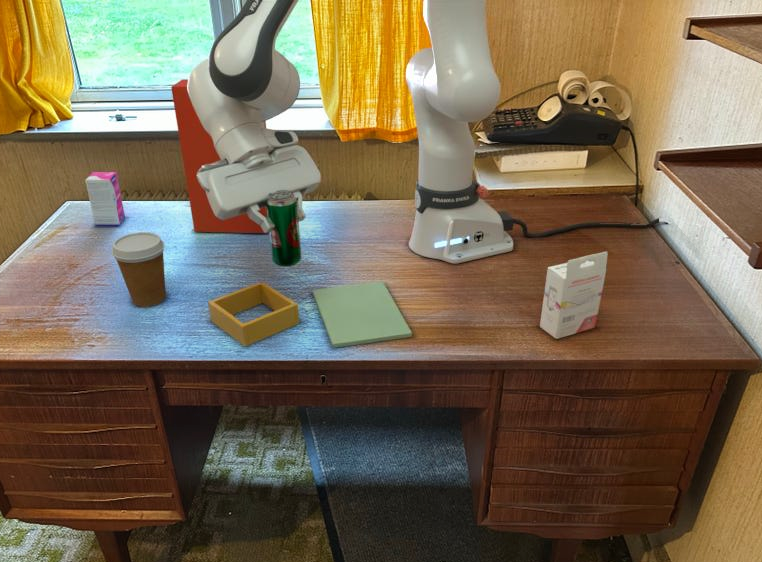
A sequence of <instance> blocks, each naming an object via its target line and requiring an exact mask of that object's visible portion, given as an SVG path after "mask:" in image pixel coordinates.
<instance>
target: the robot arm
mask: <svg viewBox="0 0 762 562" xmlns="http://www.w3.org/2000/svg"><path fill="white" fill-rule="evenodd" d="M298 2H299V0H246V1H245V2H244V4H243V5H242V8H241V9H240V11H238V13H237V15H236V16H235V17H234V19H233V20H232V21H231V22H230V23H228V25H227V26H226V27H225V28H224V29H222V31H221V32H220V33H219V34H218V36H217V37H216V38H215V40H214V41H213V43H212V45H211V47H210V50H209V54H208V58H206V59H205V60H203V61H201V62H200V63H198V64H197V65H196V66H195V67H194V68H193V69H192V71H191V72H190V73H189V76H188V78H187V79H188V93H189V97H190V100H191V102H192V105H193V107H194V109H195V112H196V114H197V116H198V118H199V120H200V122H201V124H202V126H203V127H204V129H205V130H206V131H207V132H208V133H209V134H210V136H211V137H212V140H213V143H214V147H215V150H216V152H217V153H218V155H219V157H220V159H221V160H220V161H217V162H214V163H212V164H205V165H203V166H201V169H199V171H198V172H197V179H198V181H199V183H200V185H201V187H202V188H203V189H204V190H205V191H206V195H207V198H208V200H209V203H210V206H211V208H212V210H213V212H214V214H215V216H216V217H218V218H219V219H221V220H225V219H228V218H232V217H235V216H238V215H241V214H244V213H247V215H248V217H249V218H250V219H251V220H253V221H254V222H256V223H257V224H259V225H260V226H261V228H262V229H263V231H264V233H263V234H269V233H268V232H271V231H272V230H273V229H274V228H275V225H274V223H273V222H272V221H271V219H270V218H268V219H267V218H265V217H264V216H263V215H262V214H260V213H259V210H260V208H263V207H266V200H267V199H268V197H267V196H268V194H269V193H271V194H272V193H274V192H277V191H278V190H287V191H291V192H293V193H294V197H295V198H296V199H297V209H298V221H299V222H302V221H304V220H305V219H306V218H307V215H306V213H305V211H304V209H303V195H306V194H310V193H313V192H315V191H316V189H317V188H318V187H319V185H320V184H321V182H322V174H321V172H320V170H319V168H318V166H317V164H316V163H315V161H314V160H313V158H312V156H311V155H310V154H309V152H308V151H307V150H306V149H305V148H304V147H303V146H300V145H298V142H299V138H298V135H297V134H296V132H294V131H291V130H281V129H280V130H278V129H271V128H267V127H266V128H263V126H262V124H261V122H264V121H266V122H267V121H269V120H271V119H273V118H275V117H277V116H279V115H281V114H283V113H285V112H286V111H287V110H289V109H290V108H292V107H293V105H294V104H295V103H296V101H297V99H298V96H299V94H300V89H301V79H300V74H299V72H298V69H297V68H296V67H295V65H294V64H293V63H292V62H291V61H290V60H289V59H287V57H286V56H284V55H283V53H280V51H278V50H277V49H276V41H277V38H278V36H279V34H280V33H281V31H282V29H283V27H284V26H285V24H286V22H287V20H288V19H289V17H290V15H291V14H292V13H293V11H294V9H295V7H296V6H297V4H298ZM486 7H487V0H423V8H422V9H423V11H422V13H423V14H422V15H423V21H424V24H425V25H426V28H427V30H428V33H429V38H430V44H431V47H426V48H422V49H420V50H418V51H417V52H416V53H414V54H413V56H412V57H411V58H410V60H409V61H408V63H407V66H406V71H405V82H406V85H407V87H408V90H409V91H410V96H411V100H412V105H413V112H414V119H415V124H416V130H417V138H418V139H417V140H418V175H417V176H418V177H417V178H418V179H417V181H416V182H415V191H414V205H415V206H414V207H415V209H416V211H415V217H414V222H413V228H412V231H411V236H410V238H409V241H408V247H409V249H410V250H411V251H412V252H413V253H415V254H417V255H419V256H422V257H425V258H428V259H435V260H440V261H444V262H446V263H449V264H454V265H455V264H460V263H465V262H469V261H473V260H478V259H483V258H487V257H491V256H495V255H501V254H504V253H509V252H512V251H513V250H514V240H513V238H512V237H511V235H510V234H509V233H508V232H509V231H513V230H514V225H515V224H516V225H519V226H520V227H521V229H522V234H523V235H524V237H526V238H528V239H534V238H535V239H536V238H544V237H548V236H551V235H556V234H561V233H565V232H569V231H573V230H577V229H583V228H593V227H594V228H595V227H618V228H619V227H622V228H633V229H634V228H636V229H638V228H639V229H640V228H641V229H642V228H643V229H644V228H649V227H654V226H655V225H657V224H660V222H659V218H660V217H658V218H656V219H653V220H651V221H648V222H647V223H649V224H647V225H631V224H633V223H634V222H625V221H591V222H581V223H574V224H571V225H567V226H564V227H560V228H555V229H550V230H546V231H543V232H540V233H531V232H529V231H528V226H527V224H526V222H524V221H522V220H520V219H518V218H513V217H512V215H510V213H509V212H508V211H507V210H502V211H496V209H494V208H493V207H492V206H491V205H489V204H488V203H487V202H485V200H483V199H485V198H486V197H487V196H488V195H489V193H490V191H489V189H488V188H486V187H485V186H484V185H481V184H480V183H479V182H477V181H475V180H474V179H473V177H474V176H473V175H474V161H475V150H476V149H475V148H476V147H475V141H474V138H473V136H472V134H471V131H470V126H469V123H478V122H481V121H483V120H485V119H486V118H488V117H489V116H491V115H492V113H493V112H494V111H495V109H496V108H497V106H498V104H499V101H500V97H501V89H502V87H501V82H500V79H499V77H498V75H497V73H496V71H495V68H494V66H493V62H492V55H491V51H490V50H491V49H490V45H489V44H490V43H489V37H488V31H487V30H488V29H487V19H486V17H487V15H486V14H487V13H486ZM201 171H202V172H201ZM481 198H482V199H481ZM600 223H603V224H600ZM604 223H622V224H604ZM623 223H624V224H623ZM625 223H626V224H625ZM628 223H629V224H628ZM635 223H636V224H640V223H641V222H635Z"/></svg>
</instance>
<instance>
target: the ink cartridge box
mask: <svg viewBox="0 0 762 562" xmlns="http://www.w3.org/2000/svg"><path fill="white" fill-rule="evenodd" d="M608 253H609V251H602V252H598V253H593V254H588V255H584V256H581V257H577V258H574V259H569V260H568V261H567V262H564V263H559V264H556V265H552V266H548V267H547V270H546V277H545V286H544V293H543V299H542V300H543V301H542V305H541V306H542V307H541V315H540V322H539V328H541V329H542V330H544V332H546V333H547V334H548V335H550V336H551V337H553V338H554V339H556V340H559V339H561V338H565V337H568V336H572V335H575V334H579V333H582V332H585V331H589V330H592V329H595V328H596V325H597V319H598V314H599V310H600V305H601V299H602V294H603V289H604V284H605V279H606V274H607V264H608V256H609V255H608Z"/></svg>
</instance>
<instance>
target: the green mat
mask: <svg viewBox="0 0 762 562" xmlns="http://www.w3.org/2000/svg"><path fill="white" fill-rule="evenodd" d="M312 295H313V299H314V301H315V303H316V306H317V309H318V312H319V314H320V318H321V320H322V322H323V325H324V328H325V330H326V333H327V336H328V338H329V339H328V340H329V341H330V344H331V347H332V348H333V349H337V348H342V347H343V348H344V347H349V346H357V345H358V346H359V345H365V344H370V343H371V344H373V343H377V342H379V343H380V342H387V341H393V340H399V339H406V338H412V337H413V332H412V330H411V329H410V327H409V325H408V323H407V322H406V319H405V318H404V316H403V315H402V313H401V311H400V310H399V307H398V305H397V304H396V302H395V300H394V299H393V297H392V295H391V293H390V292H389V290H388V288H387V286H386V284H385V282H384V281H383V280H380V281H379V280H377V281H371V282H364V283H356V284H348V285H339V286H332V287H324V288H323V287H322V288H315V289H312Z"/></svg>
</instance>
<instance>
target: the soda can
mask: <svg viewBox="0 0 762 562" xmlns="http://www.w3.org/2000/svg"><path fill="white" fill-rule="evenodd" d="M267 197H268V199H267V200H266V209H267V218H270V219H271V221H272V222H273V223H274V225H275V228H274V229H273V230H272V231H271V232H269V233H268V235H269V244H270V252H271V261H272V263H274V264H275V265H276V266H277V267H283V268H288V267H293V266H296V265H297V264H299V263H300V262H301V260H302V246H301V235H300V224H299V222H300V221H298V209H297V199H296V198H295V197H294V193H293V192H291V191H287V190H278V191H277V192H274V193H272V194H271V193H269V194H268V196H267Z"/></svg>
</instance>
